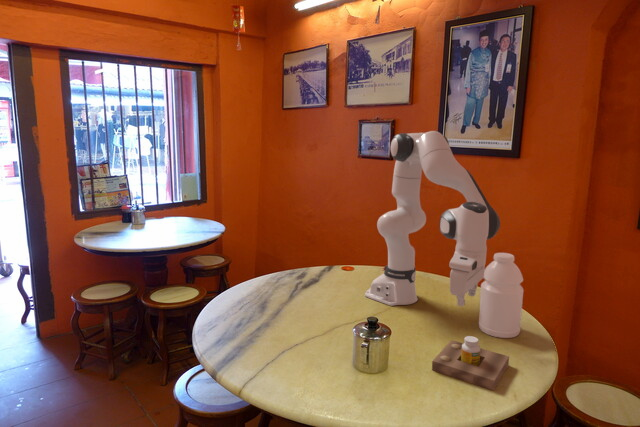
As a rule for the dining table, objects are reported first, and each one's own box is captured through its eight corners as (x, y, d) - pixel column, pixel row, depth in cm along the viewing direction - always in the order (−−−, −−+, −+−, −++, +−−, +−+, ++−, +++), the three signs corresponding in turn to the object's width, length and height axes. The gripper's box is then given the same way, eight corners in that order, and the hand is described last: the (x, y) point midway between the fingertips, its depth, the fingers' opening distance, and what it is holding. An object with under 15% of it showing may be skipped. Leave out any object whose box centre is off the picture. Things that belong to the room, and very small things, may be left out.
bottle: (470, 325, 161) (474, 252, 156) (498, 318, 167) (503, 247, 161) (499, 342, 149) (504, 263, 143) (529, 334, 154) (535, 257, 149)
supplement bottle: (468, 361, 137) (469, 333, 135) (482, 369, 133) (484, 339, 131) (456, 366, 134) (458, 337, 132) (471, 374, 130) (473, 345, 128)
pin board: (431, 369, 133) (432, 360, 132) (451, 348, 145) (451, 339, 144) (493, 390, 122) (494, 380, 121) (508, 365, 134) (509, 355, 134)
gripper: (471, 247, 141) (468, 287, 144) (447, 263, 125) (443, 308, 128) (491, 251, 137) (487, 292, 140) (469, 268, 121) (465, 314, 124)
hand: (466, 300), depth 134 cm, fingers open, 8 cm apart
